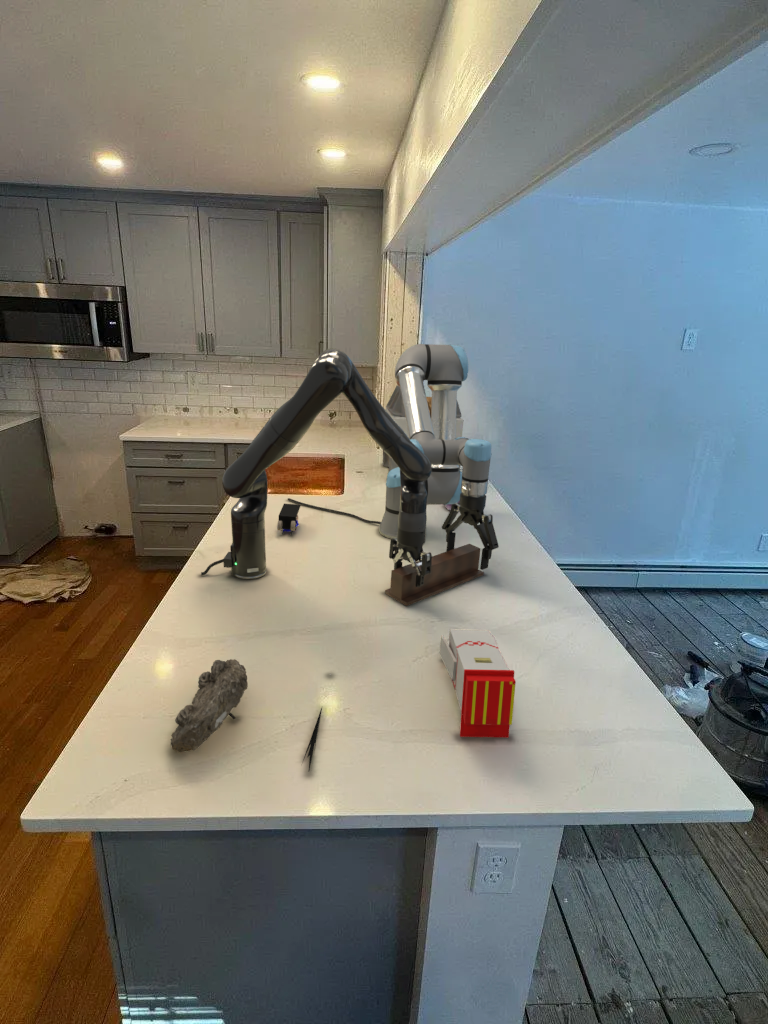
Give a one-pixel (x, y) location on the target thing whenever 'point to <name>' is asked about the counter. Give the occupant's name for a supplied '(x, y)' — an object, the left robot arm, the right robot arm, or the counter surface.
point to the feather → (313, 740)
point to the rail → (436, 575)
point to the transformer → (398, 415)
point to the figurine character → (288, 518)
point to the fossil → (210, 704)
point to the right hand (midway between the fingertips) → (466, 560)
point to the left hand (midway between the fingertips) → (408, 580)
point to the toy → (479, 682)
